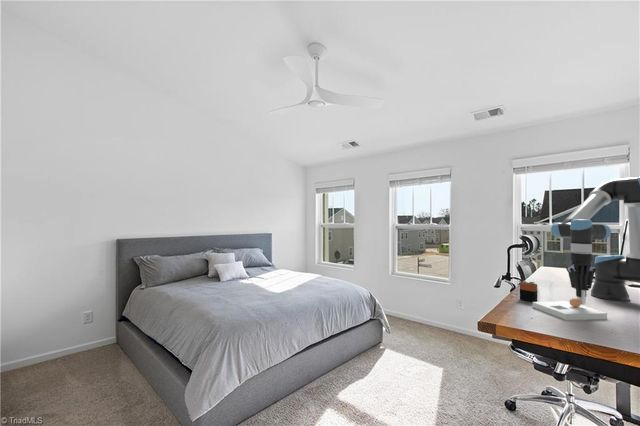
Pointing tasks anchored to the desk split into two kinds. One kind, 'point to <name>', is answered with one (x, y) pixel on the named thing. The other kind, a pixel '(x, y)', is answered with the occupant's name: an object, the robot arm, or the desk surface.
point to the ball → (575, 302)
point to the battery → (528, 291)
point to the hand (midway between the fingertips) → (581, 303)
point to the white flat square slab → (569, 311)
